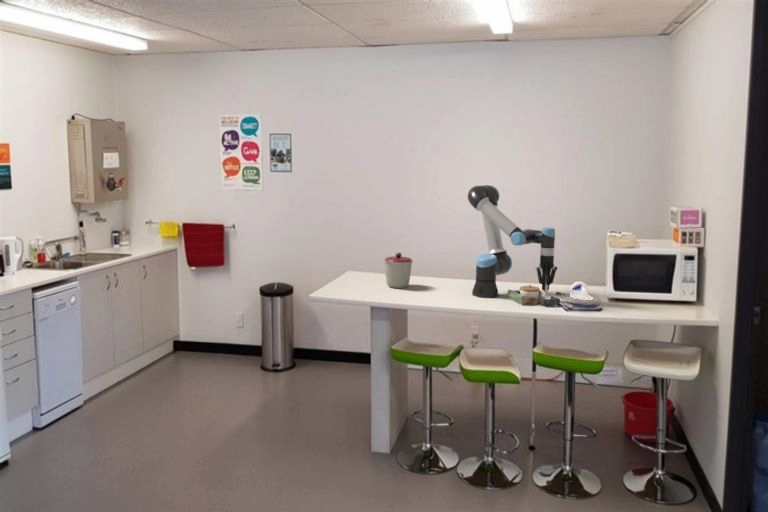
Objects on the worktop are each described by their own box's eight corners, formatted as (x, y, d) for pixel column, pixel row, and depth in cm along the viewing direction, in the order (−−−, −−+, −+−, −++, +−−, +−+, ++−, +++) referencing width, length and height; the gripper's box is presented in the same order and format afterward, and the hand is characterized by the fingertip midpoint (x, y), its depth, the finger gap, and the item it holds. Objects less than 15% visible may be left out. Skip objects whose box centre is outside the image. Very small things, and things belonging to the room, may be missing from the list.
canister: (382, 283, 422) (383, 250, 419) (411, 283, 423) (412, 250, 419) (383, 289, 404) (384, 254, 401) (413, 289, 405) (414, 255, 401)
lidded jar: (538, 303, 376) (539, 287, 374) (519, 302, 378) (519, 286, 376) (538, 299, 386) (539, 283, 384) (519, 298, 388) (520, 282, 387)
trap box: (526, 307, 366) (527, 298, 365) (503, 296, 393) (503, 287, 393) (559, 306, 371) (559, 297, 370) (534, 294, 399) (534, 286, 398)
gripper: (539, 256, 375) (537, 297, 379) (560, 255, 378) (558, 296, 382) (533, 254, 382) (531, 294, 386) (554, 253, 385) (552, 293, 389)
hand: (545, 295), depth 384 cm, fingers closed
